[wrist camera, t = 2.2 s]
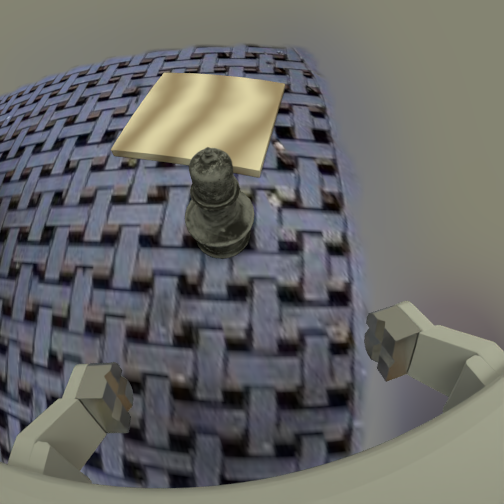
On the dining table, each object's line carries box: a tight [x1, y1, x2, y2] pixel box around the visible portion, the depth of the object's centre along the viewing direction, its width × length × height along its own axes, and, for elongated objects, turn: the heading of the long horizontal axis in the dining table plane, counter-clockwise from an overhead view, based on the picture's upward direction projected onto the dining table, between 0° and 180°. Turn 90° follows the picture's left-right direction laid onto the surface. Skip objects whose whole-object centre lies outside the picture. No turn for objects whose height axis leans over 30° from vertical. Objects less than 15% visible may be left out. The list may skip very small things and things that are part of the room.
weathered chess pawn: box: [185, 147, 254, 259], centre depth 22 cm, size 6×6×12 cm
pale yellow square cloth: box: [111, 73, 285, 177], centre depth 33 cm, size 18×16×1 cm
